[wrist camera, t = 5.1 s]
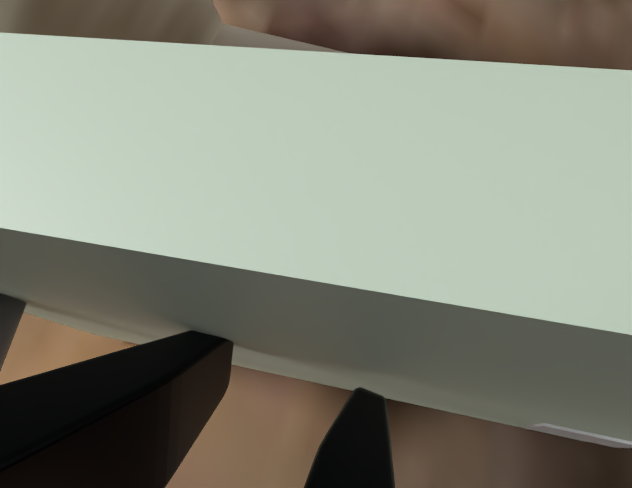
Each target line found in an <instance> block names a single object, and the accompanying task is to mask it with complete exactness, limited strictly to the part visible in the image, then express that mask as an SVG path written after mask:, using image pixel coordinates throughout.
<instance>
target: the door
mask: <svg viewBox="0 0 632 488" xmlns="http://www.w3.org/2000/svg"><path fill="white" fill-rule="evenodd" d="M23 312H24V313H28V314H31V315H34V316H37V317H40V318H43V319H47V320H50V321H53V322H56V323H59V324H62V325H66V326H69V327H72V328H75V329H78V330H81V331H85V332H88V333H91V334H94V335H99V336H103V337H108V338H112V339H117V340H122V341H126V342H131V343H135V344H140V345H141V344H144V343H148V342H151V341H155V340H158V339H162V338H165V337H168V336H172V335H175V334H179V333H182V332H186V331H189V330H193V331H197V332H201V333H205V334H210V335H214V336H218V337H222V338H225V339H228V340H230V341H232V342H234V347H233V355H232V365H236V366H241V367H245V368H250V369H254V370H259V371H264V372H268V373H273V374H277V375H282V376H287V377H291V378H296V379H300V380H305V381H309V382H314V383H319V384H323V385H328V386H332V387H337V388H342V389H346V390H351V391H354V389H356V388H357V387H362V388H365V389H367V390H370V391H372V392H375V393H377V394H380V395H382V396H384V398H387V399H392V400H397V401H401V402H406V403H410V404H415V405H419V406H424V407H429V408H433V409H438V410H442V411H447V412H452V413H456V414H461V415H465V416H470V417H474V418H479V419H484V420H488V421H493V422H497V423H502V424H506V425H511V426H516V427H520V428H525V429H529V430H534V431H539V432H543V433H548V434H552V435H557V436H561V437H566V438H571V439H575V440H580V441H584V442H591V443H596V444H600V445H605V446H609V447H614V448H632V70H616V69H599V68H583V67H566V66H549V65H533V64H516V63H499V62H483V61H466V60H449V59H433V58H416V57H399V56H383V55H366V54H349V53H333V52H316V51H299V50H283V49H266V48H249V47H233V46H216V45H199V44H183V43H166V42H149V41H133V40H116V39H99V38H83V37H66V36H49V35H33V34H16V33H0V371H1V368H2V365H3V363H4V360H5V358H6V355H7V353H8V350H9V347H10V345H11V342H12V340H13V337H14V335H15V332H16V329H17V327H18V324H19V322H20V319H21V317H22V314H23Z"/></svg>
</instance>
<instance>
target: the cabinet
mask: <svg viewBox="0 0 632 488" xmlns="http://www.w3.org/2000/svg"><path fill="white" fill-rule="evenodd" d="M0 33H16V34H33V35H49V36H66V37H83V38H99V39H116V40H133V41H149V42H166V43H183V44H199V45H216V46H233V47H249V48H266V49H283V50H299V51H316V52H333V53H346V52H342V51H337V50H333V49H329V48H325V47H320V46H316V45H312V44H307V43H303V42H299V41H295V40H290V39H286V38H282V37H278V36H273V35H269V34H265V33H260V32H256V31H252V30H248V29H243V28H239V27H235V26H230V25H226V24H223V22H222V20H221V18H220V16H219V14H218V12H217V10H216V8H215V6H214V4H213V1H212V0H0ZM349 54H350V53H349Z"/></svg>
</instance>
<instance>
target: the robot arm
mask: <svg viewBox="0 0 632 488" xmlns="http://www.w3.org/2000/svg"><path fill="white" fill-rule="evenodd" d="M233 347H234V342H232V341H230V340H228V339H225V338H222V337H218V336H214V335H210V334H205V333H201V332H197V331H193V330H189V331H186V332H182V333H179V334H175V335H172V336H168V337H165V338H162V339H158V340H155V341H151V342H148V343H144V344H141V345H137V346H134V347H131V348H127V349H124V350H120V351H117V352H113V353H110V354H106V355H103V356H99V357H96V358H93V359H89V360H86V361H82V362H79V363H75V364H72V365H68V366H65V367H61V368H58V369H55V370H51V371H48V372H44V373H41V374H37V375H34V376H30V377H27V378H24V379H20V380H17V381H13V382H10V383H6V384H3V385H0V488H165V487H166V485H167V484H168V482H169V481H170V479H171V478H172V476H173V475H174V473H175V472H176V470H177V469H178V467H179V465H180V464H181V462H182V461H183V459H184V458H185V456H186V454H187V453H188V451H189V450H190V448H191V447H192V445H193V443H194V442H195V440H196V439H197V437H198V436H199V434H200V433H201V431H202V429H203V428H204V426H205V425H206V423H207V422H208V420H209V418H210V417H211V415H212V414H213V412H214V411H215V409H216V407H217V406H218V404H219V403H220V401H221V400H222V398H223V396H224V394H225V392H226V390H227V388H228V384H229V380H230V372H231V364H232V355H233ZM304 488H395V482H394V472H393V462H392V452H391V442H390V432H389V422H388V412H387V403H386V399H385V398H384V396H382V395H380V394H377V393H375V392H372V391H370V390H367V389H365V388H362V387H357V388H356V389H354V391H353V392H352V394H351V395H350V397H349V399H348V400H347V402H346V403H345V405H344V407H343V408H342V410H341V411H340V413H339V415H338V416H337V418H336V419H335V421H334V423H333V424H332V426H331V427H330V429H329V431H328V432H327V434H326V435H325V437H324V439H323V441H322V443H321V444H320V446H319V448H318V451H317V453H316V456H315V458H314V461H313V463H312V466H311V469H310V472H309V475H308V477H307V480H306V483H305V486H304Z"/></svg>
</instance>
